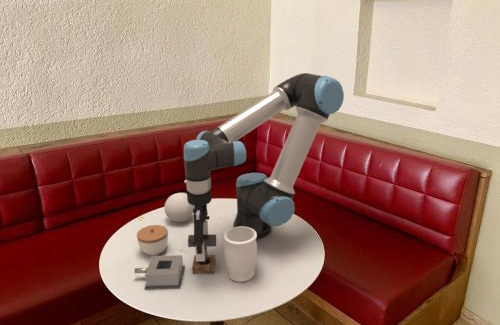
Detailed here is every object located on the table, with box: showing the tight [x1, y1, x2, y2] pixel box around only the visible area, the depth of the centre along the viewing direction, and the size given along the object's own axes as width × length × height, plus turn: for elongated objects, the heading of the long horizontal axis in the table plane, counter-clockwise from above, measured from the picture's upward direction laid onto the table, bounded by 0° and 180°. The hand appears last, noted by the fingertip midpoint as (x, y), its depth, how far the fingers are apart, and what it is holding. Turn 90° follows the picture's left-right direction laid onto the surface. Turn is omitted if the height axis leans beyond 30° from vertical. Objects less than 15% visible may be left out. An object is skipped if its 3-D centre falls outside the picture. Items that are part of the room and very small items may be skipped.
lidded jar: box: [136, 224, 169, 257], centre depth 135 cm, size 11×11×9 cm
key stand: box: [191, 254, 216, 275], centre depth 127 cm, size 7×7×2 cm
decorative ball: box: [163, 192, 194, 223], centre depth 156 cm, size 12×12×12 cm
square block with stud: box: [134, 254, 186, 290], centre depth 121 cm, size 15×11×5 cm
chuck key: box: [187, 233, 217, 265], centre depth 125 cm, size 9×3×12 cm, turn 91°
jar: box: [223, 226, 258, 283], centre depth 121 cm, size 11×10×15 cm
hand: (202, 248), depth 125 cm, fingers open, 13 cm apart
